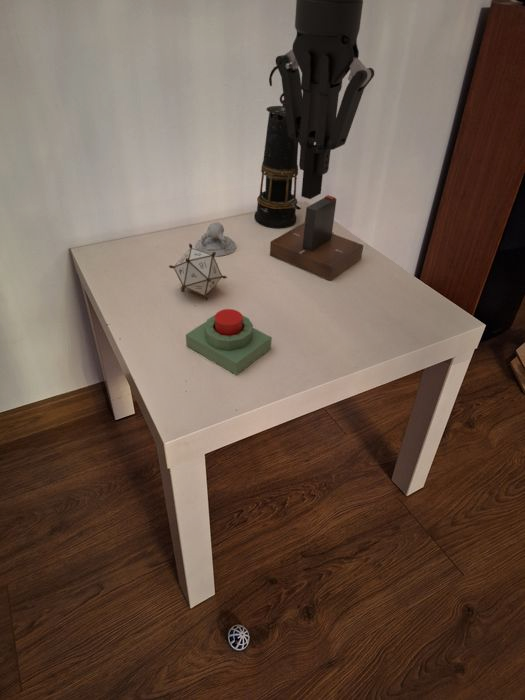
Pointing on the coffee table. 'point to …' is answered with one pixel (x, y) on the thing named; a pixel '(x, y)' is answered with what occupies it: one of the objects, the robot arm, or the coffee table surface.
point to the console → (316, 253)
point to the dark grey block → (319, 222)
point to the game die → (198, 271)
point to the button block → (229, 345)
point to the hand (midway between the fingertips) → (311, 194)
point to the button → (228, 322)
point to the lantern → (278, 172)
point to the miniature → (215, 241)
